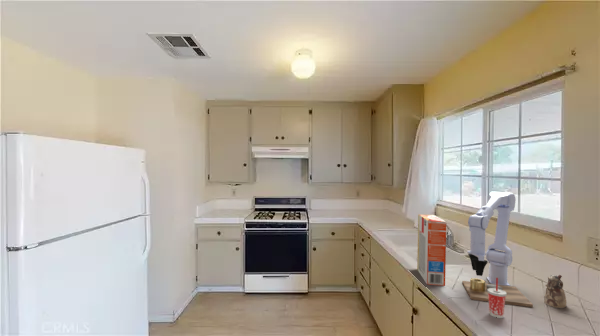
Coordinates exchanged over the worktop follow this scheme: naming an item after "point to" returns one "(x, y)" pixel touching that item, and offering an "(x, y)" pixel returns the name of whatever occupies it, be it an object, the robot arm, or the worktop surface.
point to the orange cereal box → (431, 249)
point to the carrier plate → (509, 296)
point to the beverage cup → (496, 301)
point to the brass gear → (477, 284)
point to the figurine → (555, 292)
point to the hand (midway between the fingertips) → (477, 272)
